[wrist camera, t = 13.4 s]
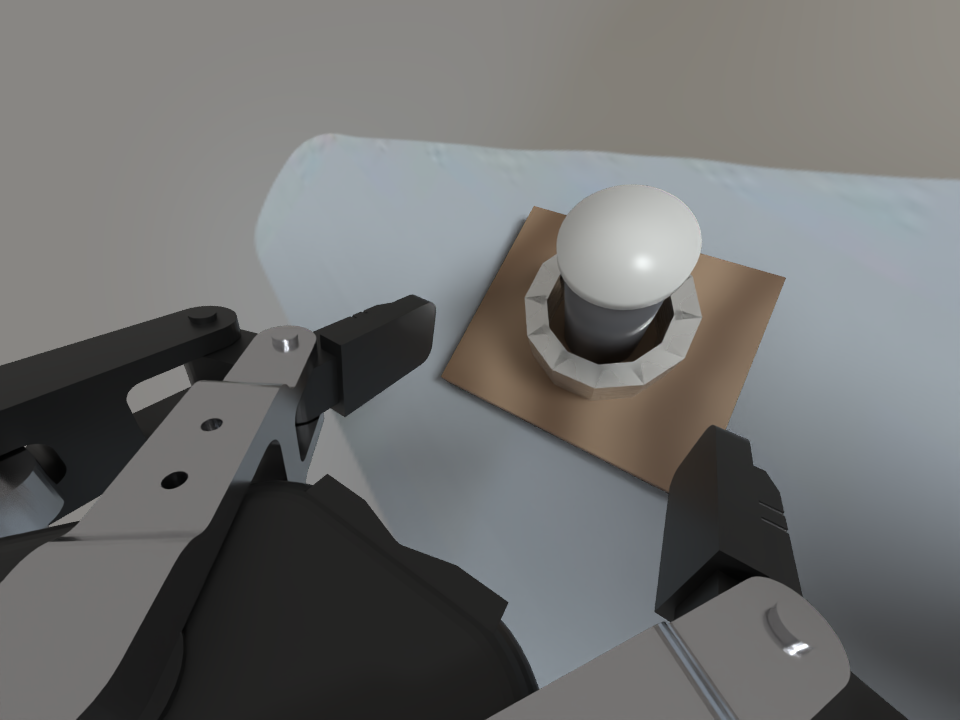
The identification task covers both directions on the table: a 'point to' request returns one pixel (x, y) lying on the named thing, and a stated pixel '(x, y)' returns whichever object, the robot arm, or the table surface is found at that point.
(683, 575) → the robot arm
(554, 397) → the mount board
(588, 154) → the table surface
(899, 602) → the table surface
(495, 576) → the table surface
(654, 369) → the faceted white ring
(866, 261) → the table surface
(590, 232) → the white capped grey cylinder
